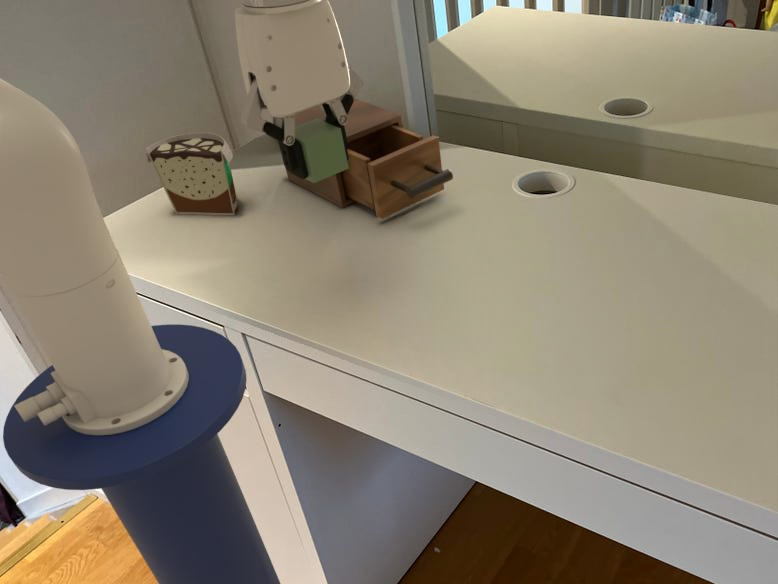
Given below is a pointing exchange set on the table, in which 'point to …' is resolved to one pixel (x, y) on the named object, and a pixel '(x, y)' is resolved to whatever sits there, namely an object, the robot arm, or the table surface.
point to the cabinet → (359, 124)
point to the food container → (195, 173)
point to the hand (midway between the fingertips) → (318, 165)
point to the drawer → (393, 170)
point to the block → (321, 149)
